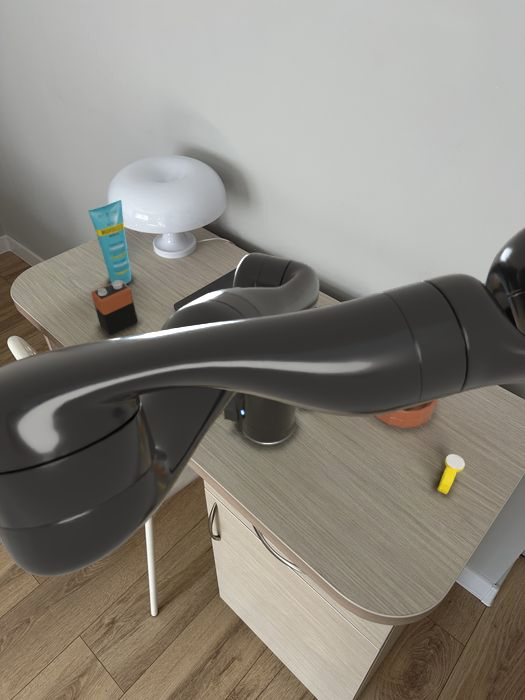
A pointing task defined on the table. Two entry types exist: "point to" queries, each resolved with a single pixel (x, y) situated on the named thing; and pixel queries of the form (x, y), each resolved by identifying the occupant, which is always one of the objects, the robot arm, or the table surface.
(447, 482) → the yellow flashlight
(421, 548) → the table surface
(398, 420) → the bowl
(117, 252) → the tube
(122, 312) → the battery
